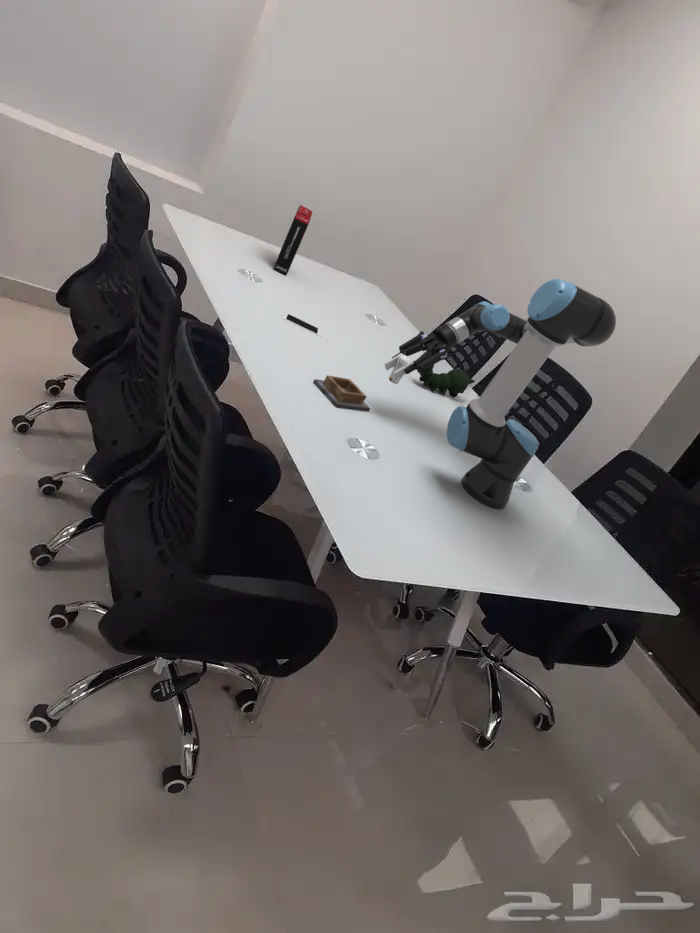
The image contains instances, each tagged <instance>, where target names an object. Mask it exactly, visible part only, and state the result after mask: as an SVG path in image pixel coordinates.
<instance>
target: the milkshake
mask: <svg viewBox="0 0 700 933" xmlns="http://www.w3.org/2000/svg"><path fill="white" fill-rule="evenodd" d="M416 360H417V359H415V360H414V361H416ZM410 362H412V364H413V361H412V359H411V358H410V356H406V355H400V356H399V357H398V359H397V362H396V364H395V366H394V367H392V370H391V373H390V375H389V377H388V381H390V382H391V383H392V384H395V385H397V384H399V382H400V381H401V379H402V378H403V376H401V377H400V378H398V379H397V380H396V379H395V376H394V372H395V371H397V370H398V369H400V368H401V367H403V366H405V365H406V364H408V363H410Z"/></svg>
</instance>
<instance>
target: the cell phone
mask: <svg viewBox="0 0 700 933" xmlns="http://www.w3.org/2000/svg"><path fill="white" fill-rule="evenodd" d="M282 319H283V320H285V321H287V322H290V323H291V324H293V325H295V326H297V327H299V328H302V329H303V330H305V331H308V332H309V333H312V334H314V335H316V336H319V337H320V338H322V337H323V333H324V330H323V329H321V328H320V327H317V326H314V325H313V324H311V323H309V322H307V321H305V320H303V319H300V318H298V317H296V316H294V315H292V314H290V313H288V312H283V314H282Z"/></svg>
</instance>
